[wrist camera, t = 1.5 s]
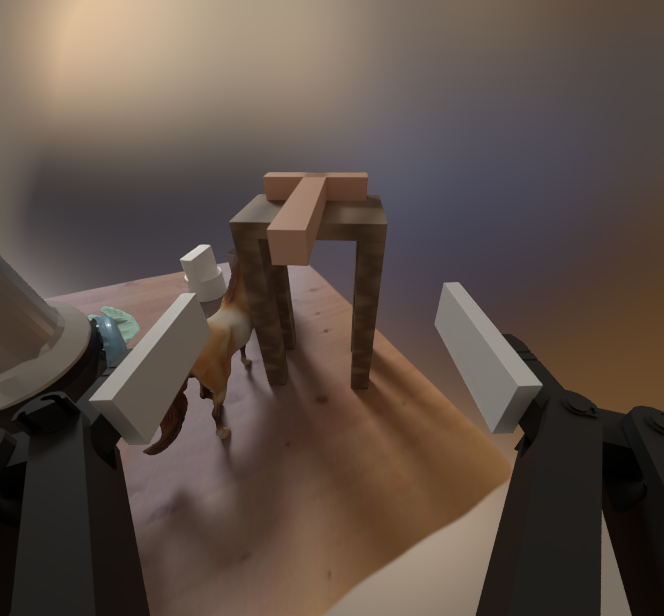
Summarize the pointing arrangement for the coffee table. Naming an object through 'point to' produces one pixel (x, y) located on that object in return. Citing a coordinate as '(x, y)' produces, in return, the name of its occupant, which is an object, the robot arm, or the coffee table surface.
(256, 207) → the walnut table
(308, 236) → the terracotta T
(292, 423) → the coffee table surface
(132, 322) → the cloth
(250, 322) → the horse figurine
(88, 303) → the coffee table surface
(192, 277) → the cylinder with rectangular tab
